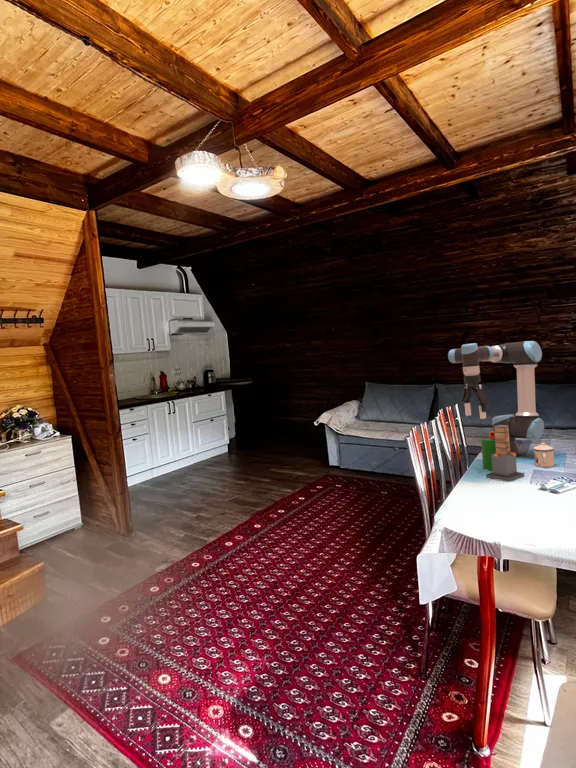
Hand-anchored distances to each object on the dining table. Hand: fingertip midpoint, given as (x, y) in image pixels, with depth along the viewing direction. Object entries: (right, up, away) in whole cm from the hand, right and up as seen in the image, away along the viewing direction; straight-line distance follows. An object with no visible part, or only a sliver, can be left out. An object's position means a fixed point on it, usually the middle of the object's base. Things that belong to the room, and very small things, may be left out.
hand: (475, 417), depth 217 cm
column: (+11, -26, -7) cm, 29 cm away
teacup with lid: (+38, -26, +6) cm, 46 cm away
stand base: (+11, -28, -6) cm, 31 cm away
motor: (+14, -28, +10) cm, 32 cm away
